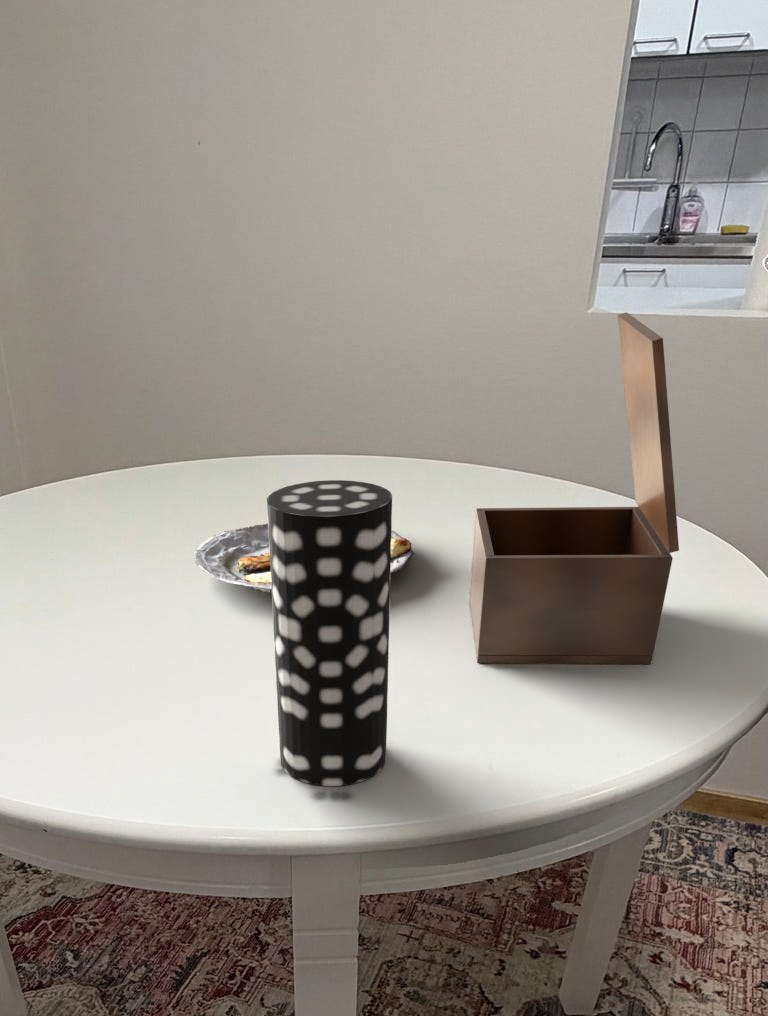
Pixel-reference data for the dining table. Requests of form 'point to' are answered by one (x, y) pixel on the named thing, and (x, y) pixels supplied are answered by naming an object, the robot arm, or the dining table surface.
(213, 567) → the food plate
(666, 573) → the chest
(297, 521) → the white-spotted black cylinder
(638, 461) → the lid
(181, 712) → the dining table surface
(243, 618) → the dining table surface
